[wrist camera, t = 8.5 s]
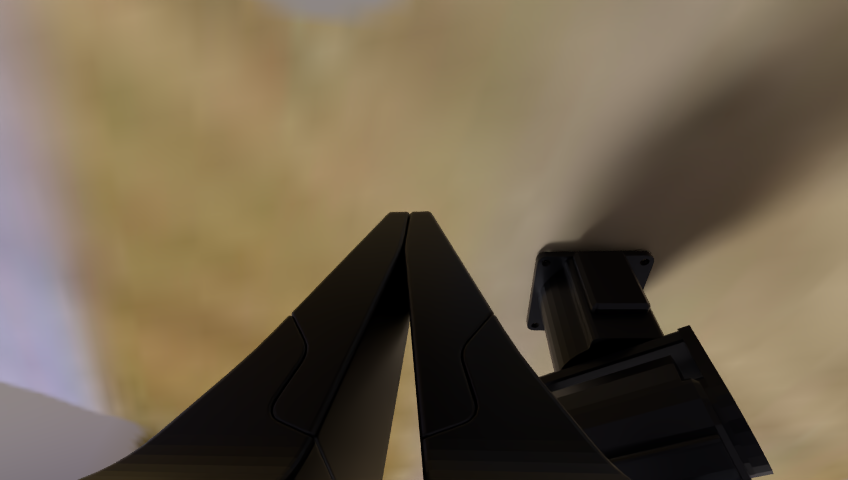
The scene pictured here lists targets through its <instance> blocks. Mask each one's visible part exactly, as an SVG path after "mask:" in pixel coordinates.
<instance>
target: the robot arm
mask: <svg viewBox="0 0 848 480" xmlns="http://www.w3.org/2000/svg"><path fill="white" fill-rule="evenodd" d="M643 259H645V260H643ZM544 260H548V261H546V262H543V261H544ZM641 260H643V261H641ZM653 263H654V258H653V256H652V255H651V253H650V252H648V251H587V252H543V253H540V254H539V255H538V256H537V258H536V263H535V269H534V276H533V282H532V289H531V295H530V301H529V308H528V314H527V326H528V328H529V329H530V330H545V333H546V337H547V342H548V346H549V350H550V355H551V359H552V363H553V368H554V372H553V373H550V374H547V375H544V376H541V377H538V375H537V374H536V373H535V372H534V370H533V369H532V368H531V367H530V365H529V364H528V363H527V361H526V360H525V359H524V358H523V356H522V355H521V354H520V352H519V351H518V349H517V348H516V346H515V345H514V344H513V342H512V341H511V339H510V338H509V336H508V335H507V333H506V332H505V330H504V329H503V327H502V325H501V324H500V322H499V321H498V319H497V317H496V316H495V315H494V313H493V311H492V310H491V308H490V306H489V305H488V303H487V302H486V300H485V298H484V297H483V295H482V294H481V292H480V290H479V289H478V287H477V286H476V284H475V282H474V281H473V279H472V277H471V276H470V274H469V273H468V271H467V269H466V268H465V266H464V265H463V263H462V261H461V260H460V258H459V257H458V255H457V253H456V252H455V250H454V249H453V247H452V245H451V244H450V242H449V240H448V239H447V237H446V236H445V234H444V232H443V231H442V229H441V228H440V226H439V224H438V223H437V221H436V220H435V218H434V216H433V215H432V213H431V212H428V211H425V212H412V213H411V214H409V213H408V212H390V213H388V214H387V215H386V216H385V217H384V218H383V219H382V221H381V222H380V223H379V224H378V225H377V226H376V227H375V228H374V229H373V230H372V231H371V232H370V233H369V234H368V235H367V236H366V237H365V238H364V239H363V240H362V241H361V242H360V243H359V244H358V245H357V246H356V247H355V248H354V249H353V250H352V251H351V252H350V253H349V254H348V256H347V257H346V258H345V259H344V260H343V261H342V262H341V263H340V264H339V265H338V266H337V267H336V268H335V269H334V270H333V271H332V272H331V273H330V274H329V275H328V276H327V277H326V278H325V279H324V280H323V281H322V282H321V283H320V284H319V285H318V286H317V287H316V288H315V289H314V291H313V292H312V293H311V294H310V295H309V296H308V297H307V298H306V299H305V300H304V301H303V302H302V303H301V304H300V305H299V306H298V307H297V308H296V309H295V310H294V311H293V312H292V316H288V317H287V318H286V319H285V320H284V321H283V322H282V323H281V324H280V325H279V326H278V327H277V328H276V329H275V330H274V331H273V332H272V333H271V334H270V335H269V336H268V337H267V338H266V339H265V340H264V341H263V342H262V343H261V344H260V345H259V346H258V347H257V348H256V349H255V350H254V351H253V352H252V353H251V354H249V355H248V356H247V357H246V358H245V359H244V360H243V361H242V362H240V363H239V364H238V365H237V366H236V367H235V368H234V369H233V370H231V371H230V372H229V373H228V374H227V375H226V376H225V377H223V378H222V379H221V380H220V381H219V382H218V383H216V384H215V385H214V386H213V387H212V388H211V389H209V390H208V391H207V392H206V393H205V394H203V395H202V396H201V397H200V398H199V399H198V400H196V401H195V402H194V403H193V404H192V405H191V406H189V407H188V408H187V409H186V410H185V411H184V412H182V413H181V414H180V415H179V416H178V417H176V418H175V419H174V420H173V421H172V422H171V423H169V424H168V425H167V426H166V427H165V428H164V429H162V430H161V431H160V432H159V433H158V434H156V435H155V436H154V437H153V438H151V439H150V440H149V441H148V442H146V443H145V444H144V445H142V446H141V447H140V448H138V449H137V450H135V451H134V452H132V453H131V454H129V455H128V456H126V457H125V458H123V459H121V460H120V461H118V462H116V463H114V464H113V465H111V466H108V467H106V468H104V469H102V470H100V471H98V472H96V473H93V474H91V475H88V476H86V477H83V478H81V479H78V480H382V478H383V472H384V466H385V461H386V455H387V449H388V444H389V438H390V432H391V426H392V421H393V415H394V409H395V403H396V398H397V392H398V386H399V380H400V375H401V369H402V363H403V357H404V352H405V346H406V340H407V335H408V329H409V322H410V327H411V339H412V350H413V362H414V373H415V385H416V397H417V408H418V420H419V431H420V442H421V455H422V467H423V479H424V480H752V479H751V478H754V477H759V476H764V475H770V474H773V471H772V469H771V467H770V465H769V463H768V461H767V459H766V457H765V455H764V453H763V451H762V449H761V448H760V446H759V444H758V442H757V440H756V438H755V436H754V435H753V433H752V431H751V429H750V427H749V425H748V424H747V422H746V420H745V418H744V416H743V415H742V413H741V411H740V409H739V408H738V406H737V404H736V402H735V401H734V399H733V397H732V395H731V394H730V392H729V390H728V389H727V387H726V385H725V384H724V382H723V380H722V379H721V377H720V375H719V374H718V372H717V370H716V369H715V367H714V365H713V364H712V362H711V360H710V359H709V357H708V355H707V354H706V352H705V350H704V349H703V347H702V345H701V344H700V342H699V340H698V339H697V337H696V335H695V334H694V332H693V330H692V329H691V327H690V325H688V326H685V327H682V328H679V329H678V331H677V332H674V333H671V334H668V335H665V336H664V334H663V332H662V330H661V328H660V326H659V324H658V322H657V320H656V318H655V316H654V314H653V312H652V310H651V308H650V303H649V301H648V299H647V297H646V295H645V293H644V291H643V289H644V286H645V284H646V281H647V278H648V276H649V273H650V271H651V268H652V266H653Z"/></svg>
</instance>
